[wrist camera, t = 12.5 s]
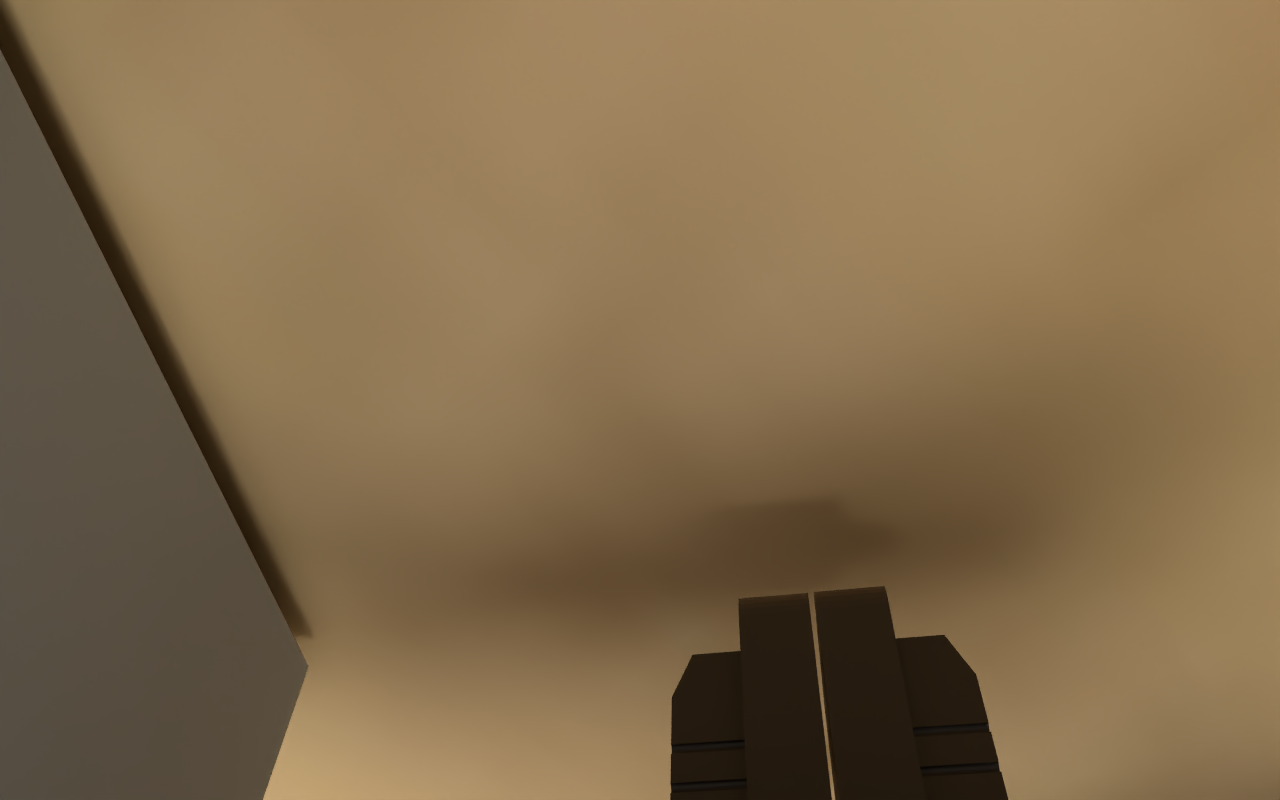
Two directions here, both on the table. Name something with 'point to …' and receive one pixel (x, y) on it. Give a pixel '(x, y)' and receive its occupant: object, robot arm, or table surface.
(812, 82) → the table surface
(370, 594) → the table surface
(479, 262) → the table surface
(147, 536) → the hinged leg
